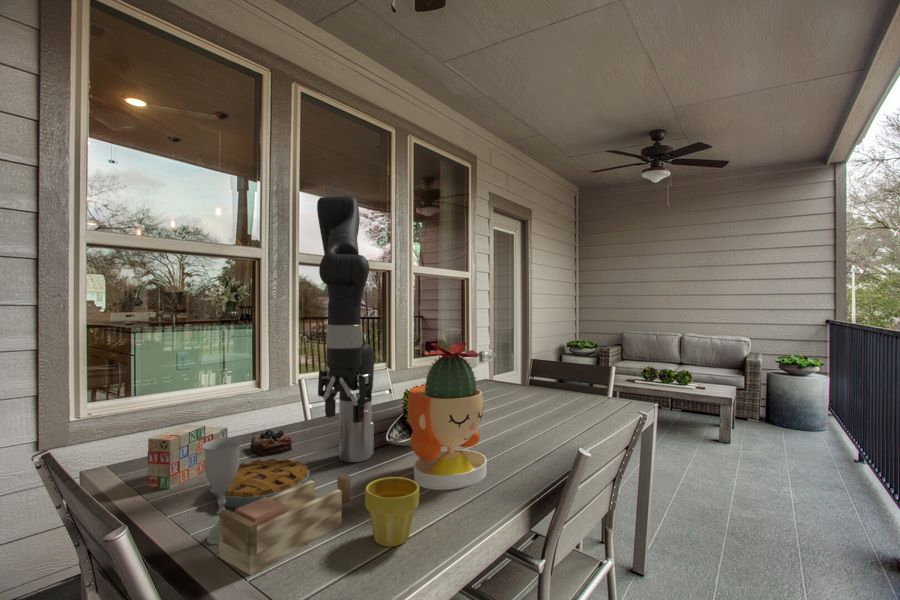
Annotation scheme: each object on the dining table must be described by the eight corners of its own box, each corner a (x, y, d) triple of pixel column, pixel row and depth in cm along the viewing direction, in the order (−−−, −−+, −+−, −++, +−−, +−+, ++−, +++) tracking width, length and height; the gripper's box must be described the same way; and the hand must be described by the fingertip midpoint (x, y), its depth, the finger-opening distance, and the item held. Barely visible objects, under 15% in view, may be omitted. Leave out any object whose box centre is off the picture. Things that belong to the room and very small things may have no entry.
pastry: (258, 459, 129) (258, 439, 129) (246, 448, 138) (246, 429, 138) (296, 451, 136) (296, 431, 136) (282, 441, 145) (282, 423, 145)
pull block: (339, 494, 100) (339, 467, 100) (358, 501, 96) (358, 472, 96) (235, 543, 79) (235, 508, 79) (255, 554, 76) (255, 517, 76)
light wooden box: (310, 513, 95) (311, 475, 95) (341, 525, 90) (341, 485, 90) (219, 557, 79) (219, 511, 79) (250, 575, 73) (250, 526, 74)
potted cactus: (501, 471, 119) (501, 341, 120) (444, 497, 103) (444, 346, 103) (443, 452, 134) (444, 336, 134) (385, 473, 118) (386, 341, 118)
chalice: (211, 528, 89) (212, 437, 89) (247, 526, 89) (247, 437, 90) (193, 548, 82) (194, 449, 82) (232, 546, 82) (233, 449, 82)
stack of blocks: (208, 458, 130) (209, 415, 130) (228, 459, 128) (228, 416, 129) (147, 488, 108) (147, 437, 109) (169, 489, 107) (169, 438, 107)
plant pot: (420, 523, 91) (420, 475, 91) (418, 552, 80) (418, 497, 81) (369, 524, 90) (369, 476, 91) (360, 553, 80) (360, 498, 80)
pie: (263, 519, 93) (263, 495, 93) (187, 503, 100) (187, 481, 100) (327, 480, 113) (327, 461, 113) (259, 469, 121) (259, 451, 121)
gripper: (380, 345, 96) (379, 420, 96) (335, 342, 104) (334, 411, 104) (354, 348, 90) (354, 428, 90) (308, 344, 98) (308, 418, 98)
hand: (343, 419), depth 97 cm, fingers open, 8 cm apart
